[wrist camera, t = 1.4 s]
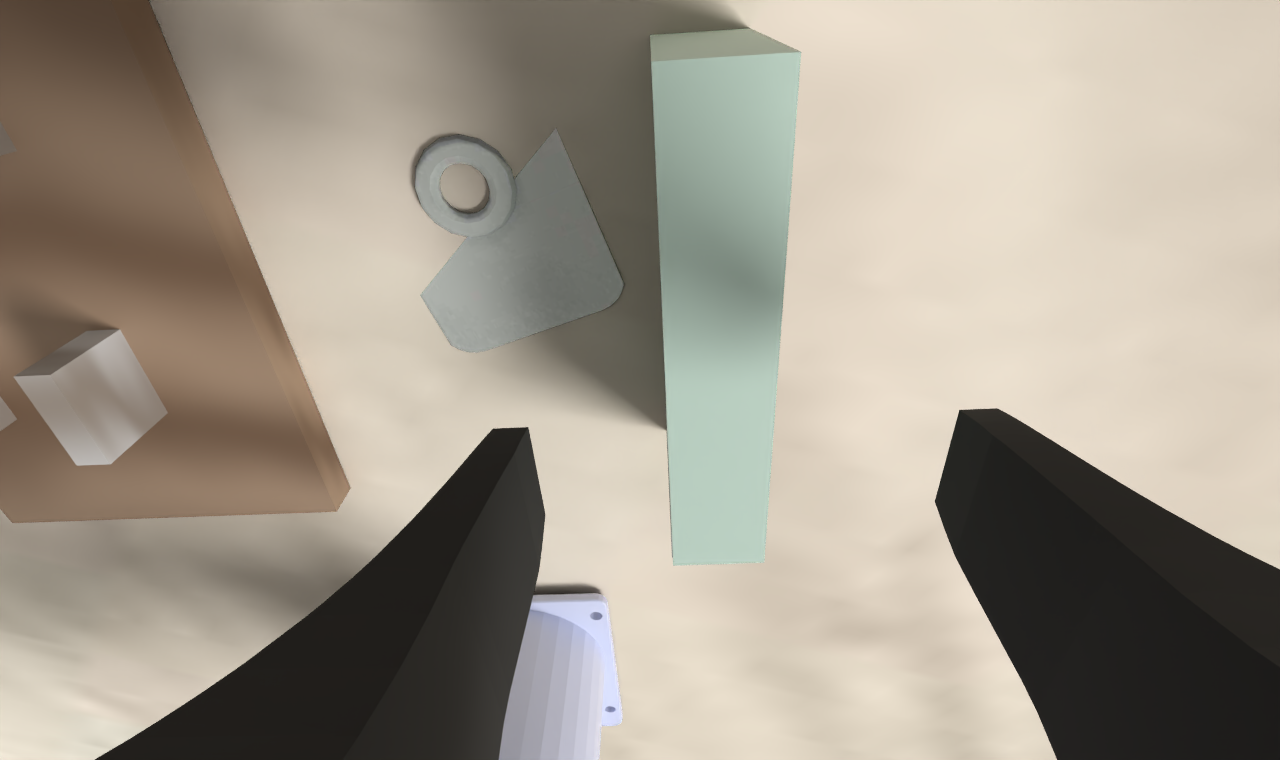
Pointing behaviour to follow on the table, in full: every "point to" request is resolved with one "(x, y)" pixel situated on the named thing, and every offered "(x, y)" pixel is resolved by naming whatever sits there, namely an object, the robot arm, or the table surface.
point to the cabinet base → (133, 294)
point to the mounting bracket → (515, 247)
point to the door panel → (722, 277)
